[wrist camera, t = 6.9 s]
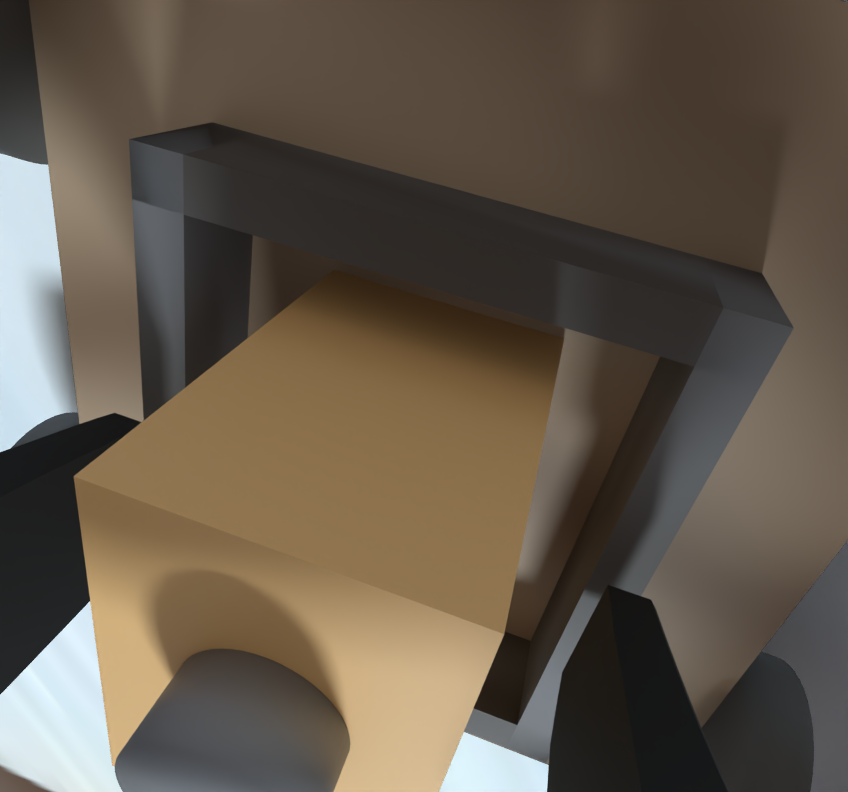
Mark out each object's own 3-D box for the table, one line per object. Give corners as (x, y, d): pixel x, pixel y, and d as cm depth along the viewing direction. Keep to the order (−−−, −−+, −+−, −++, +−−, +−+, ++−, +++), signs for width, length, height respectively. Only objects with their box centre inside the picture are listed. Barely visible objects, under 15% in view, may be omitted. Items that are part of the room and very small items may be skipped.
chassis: (699, 728, 17) (720, 927, 13) (112, 510, 20) (-14, 625, 16) (1188, 96, 9) (1632, 143, 5) (50, -154, 11) (-256, -256, 7)
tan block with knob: (488, 554, 13) (371, 992, 7) (306, 490, 13) (54, 847, 7) (564, 338, 10) (480, 750, 4) (334, 269, 11) (-23, 552, 5)
